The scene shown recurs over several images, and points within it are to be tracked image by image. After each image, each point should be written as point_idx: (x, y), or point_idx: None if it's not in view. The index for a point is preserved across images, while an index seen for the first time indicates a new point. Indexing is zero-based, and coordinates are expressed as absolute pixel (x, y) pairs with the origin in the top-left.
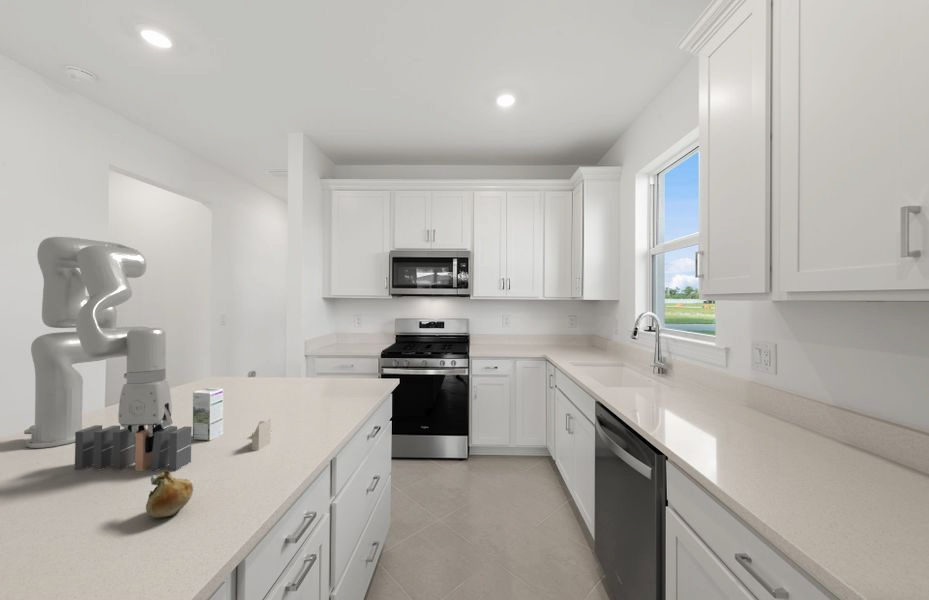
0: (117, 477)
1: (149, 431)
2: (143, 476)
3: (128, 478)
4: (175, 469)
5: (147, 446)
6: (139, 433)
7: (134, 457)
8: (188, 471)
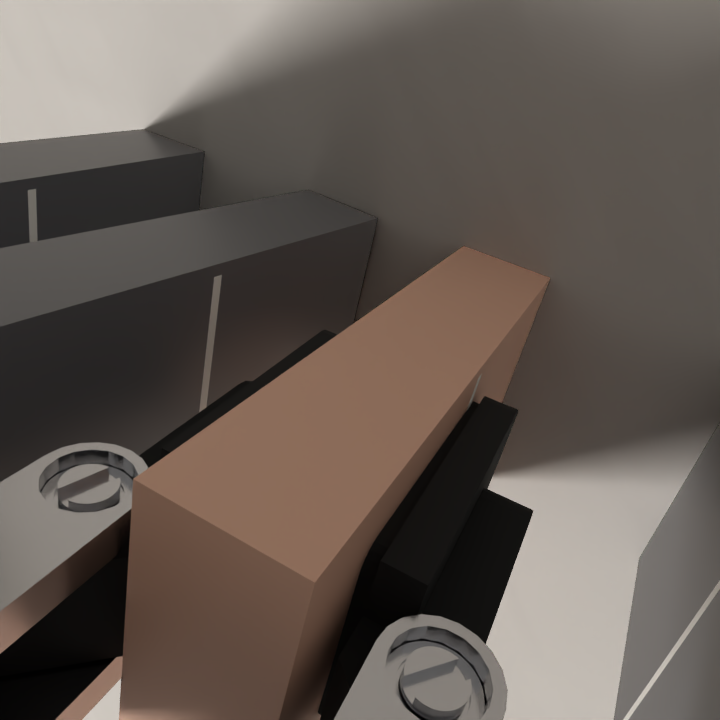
0: (688, 84)
1: (45, 525)
2: (373, 44)
3: (521, 12)
4: (140, 134)
5: (278, 365)
6: (215, 527)
7: (652, 573)
8: (47, 86)
